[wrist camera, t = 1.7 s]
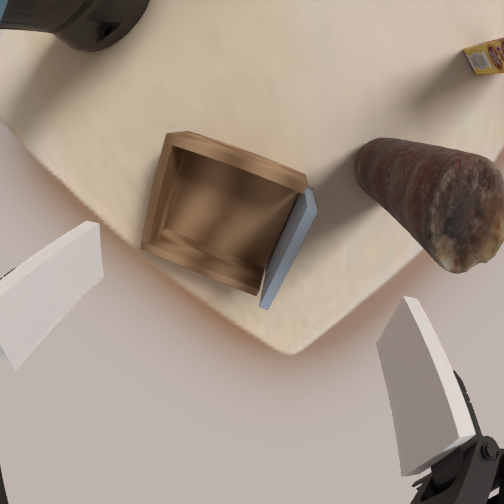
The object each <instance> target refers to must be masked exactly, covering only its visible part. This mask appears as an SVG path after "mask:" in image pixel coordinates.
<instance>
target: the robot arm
mask: <svg viewBox="0 0 504 504" xmlns="http://www.w3.org/2000/svg"><path fill="white" fill-rule="evenodd" d="M149 1H150V0H0V29H13V30H28V31H38V32H47V33H52V34H54V35H55V36H56V37H58V38H59V39H60V40H62V41H63V42H64V43H66V44H67V45H68V46H69V47H71V48H73V49H76V50H81V51H87V52H93V51H98V50H101V49H104V48H106V47H108V46H110V45H112V44H114V43H115V42H117V41H118V40H119V39H121V38H122V37H123V36H124V35H126V34H127V33H128V32H129V31H130V30H131V29H132V28H133V27H134V25H135V24H136V23H137V22H138V20H139V19H140V18H141V16H142V15H143V13H144V11H145V10H146V8H147V6H148V3H149ZM103 276H104V275H103V266H102V257H101V245H100V231H99V224H98V223H94V222H90V221H85V222H84V223H82V224H81V225H79V226H77V227H75V228H74V229H72V230H71V231H69V232H67V233H66V234H64V235H63V236H61V237H60V238H58V239H57V240H55V241H54V242H52V243H51V244H49V245H48V246H46V247H45V248H43V249H42V250H40V251H39V252H37V253H36V254H35V255H33V256H32V257H30V258H29V259H28V260H26V261H25V262H24V263H22V264H21V265H19V266H18V267H16V268H14V269H12V270H11V271H10V272H8V273H7V274H6V275H4V278H1V279H0V355H1V357H2V359H3V361H4V362H5V363H6V364H7V365H9V366H10V367H11V368H12V369H13V370H15V371H16V370H17V369H18V368H19V367H20V366H21V364H22V363H23V362H24V361H25V359H26V358H27V357H28V356H29V355H30V354H31V352H32V351H33V350H34V349H35V347H37V346H38V344H39V343H40V342H41V341H42V340H43V338H45V336H46V335H47V334H48V333H49V332H50V331H51V330H52V329H53V328H54V326H55V325H56V324H57V323H58V322H59V321H60V320H61V319H62V318H63V317H64V316H65V315H66V314H67V313H68V312H69V311H70V309H72V307H74V306H75V304H77V303H78V302H79V300H80V299H81V298H82V297H83V296H84V295H85V294H86V293H88V292H89V290H90V289H92V288H93V287H94V286H95V285H96V284H97V283H98V282H99V281H100V280H101V279H102V278H103ZM376 345H377V349H378V353H379V357H380V360H381V365H382V369H383V373H384V377H385V382H386V386H387V391H388V395H389V400H390V405H391V409H392V415H393V420H394V426H395V432H396V438H397V444H398V451H399V458H400V467H401V476H402V477H403V476H410V475H416V474H419V473H421V472H423V471H425V470H426V469H428V468H429V467H431V471H432V472H431V473H430V474H428V475H427V476H425V477H423V478H421V479H419V480H418V481H416V482H414V484H413V485H412V487H415V486H417V485H418V484H421V483H422V485H421V486H420V487H418V488H417V490H418V492H417V494H416V495H415V497H414V499H413V500H412V502H411V504H504V449H500V448H499V447H498V445H497V443H496V441H495V440H494V439H493V438H491V437H489V436H482V434H481V431H480V427H479V425H478V421H477V419H476V416H475V413H474V410H473V407H472V404H471V403H470V399H469V396H468V394H466V392H467V391H466V389H465V386H464V384H463V382H462V380H461V379H460V377H459V376H458V375H457V373H456V372H455V371H454V370H452V368H451V366H450V363H449V361H448V359H447V357H446V354H445V352H444V350H443V348H442V346H441V344H440V342H439V340H438V337H437V336H436V333H435V331H434V329H433V328H432V326H431V323H430V322H429V320H428V318H427V316H426V314H425V312H424V310H423V308H422V307H421V305H420V303H419V301H418V299H415V298H411V297H406V296H403V298H402V299H401V301H400V303H399V305H398V307H397V308H396V311H395V312H394V314H393V316H392V317H391V319H390V321H389V323H388V325H387V326H386V328H385V330H384V332H383V333H382V335H381V337H380V338H379V340H378V341H377V343H376ZM498 487H500V488H499V494H497V495H495V496H493V497H492V498H490V499H488V497H489V494H490V492H492V491H493V490H495V489H496V488H498ZM0 504H8V500H7V496H6V492H5V488H4V483H3V479H2V473H1V467H0Z"/></svg>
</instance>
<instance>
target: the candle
mask: <svg viewBox="0 0 504 504" xmlns="http://www.w3.org/2000/svg"><path fill="white" fill-rule="evenodd" d="M355 172H356V177H357V181H358V183H359V185H360V186H361V187H362V189H363V190H364V191H365V192H366V193H368V194H369V195H370V196H371V197H372V198H373V199H374V200H375V201H376V202H378V203H379V204H380V205H381V206H382V207H383V208H384V209H385V210H387V211H388V212H389V213H390V214H391V215H392V216H393V217H394V218H395V219H396V220H397V221H398V222H399V223H400V224H401V225H402V226H403V227H404V228H405V229H406V230H407V231H408V232H409V233H410V234H411V236H412V237H413V238H414V239H415V240H416V241H417V242H418V243H419V244H420V245H421V246H422V247H423V248H424V249H425V250H426V251H427V252H428V254H429V255H430V256H431V257H432V258H433V259H434V260H435V261H436V262H437V263H438V264H439V265H440V266H441V267H442V268H444V269H445V270H446V271H449V272H452V273H457V274H458V273H462V272H467V271H468V270H469V269H470V268H472V267H473V266H474V265H476V264H478V263H480V262H483V263H487V262H488V261H489V260H490V259H492V257H494V256H495V254H496V253H497V251H498V250H499V248H500V246H501V244H502V243H503V241H504V181H503V178H502V174H501V171H500V170H499V169H498V167H497V166H496V165H495V163H493V162H492V161H490V160H489V159H487V158H486V157H483V156H480V155H477V154H473V153H467V152H463V151H459V150H455V149H449V148H445V147H441V146H435V145H429V144H424V143H418V142H412V141H407V140H401V139H393V138H377V139H374V140H372V141H370V142H368V143H367V144H366V145H365V146H364V147H363V148H362V149H361V150H360V152H359V154H358V157H357V159H356V162H355Z"/></svg>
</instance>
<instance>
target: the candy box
mask: <svg viewBox="0 0 504 504" xmlns="http://www.w3.org/2000/svg"><path fill="white" fill-rule="evenodd" d="M463 51H464V53H465V55H466V56H467V58H468V60H469V62H470V64H471V66H472V68H473V70H474V72H475V74H476V75H483V74H495V73H504V38H501V39H497V40H493V41H489V42H486V43H483V44H479V45H476V46H473V47H469V48H466V49H463Z"/></svg>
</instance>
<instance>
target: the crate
mask: <svg viewBox="0 0 504 504" xmlns="http://www.w3.org/2000/svg"><path fill="white" fill-rule="evenodd" d="M307 186H308V183H307V179H306V175H305V174H303V173H301V172H298V171H296V170H294V169H291V168H289V167H286V166H284V165H282V164H279V163H277V162H274V161H272V160H269V159H266V158H264V157H261V156H259V155H256V154H253V153H251V152H248V151H245V150H243V149H240V148H237V147H234V146H231V145H229V144H226V143H223V142H220V141H217V140H214V139H211V138H208V137H205V136H202V135H199V134H195V133H192V132H189V131H184V132H175V133H167V134H166V137H165V141H164V144H163V148H162V152H161V155H160V159H159V163H158V167H157V171H156V175H155V179H154V183H153V187H152V192H151V196H150V201H149V206H148V211H147V216H146V221H145V226H144V231H143V237H142V243H141V249H144V250H146V251H148V252H150V253H153V254H155V255H157V256H159V257H162V258H164V259H166V260H169V261H171V262H173V263H176V264H178V265H180V266H183V267H185V268H188V269H190V270H192V271H195V272H197V273H200V274H202V275H204V276H207V277H209V278H212V279H214V280H217V281H219V282H222V283H224V284H227V285H229V286H232V287H234V288H237V289H239V290H242V291H244V292H247V293H249V294H252V295H255V296H257V294H258V292H259V290H260V285H261V281H262V276H263V272H264V268H265V266H266V263H267V261H268V259H269V257H270V255H271V253H272V250H273V248H274V246H275V244H276V242H277V239H278V237H279V235H280V233H281V231H282V228H283V226H284V224H285V222H286V219H287V217H288V215H289V213H290V211H291V208H292V206H293V204H294V202H295V199H296V197H297V195H298V193H299V192H300V193H302V194H304V193H305V191H306V188H307Z"/></svg>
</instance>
